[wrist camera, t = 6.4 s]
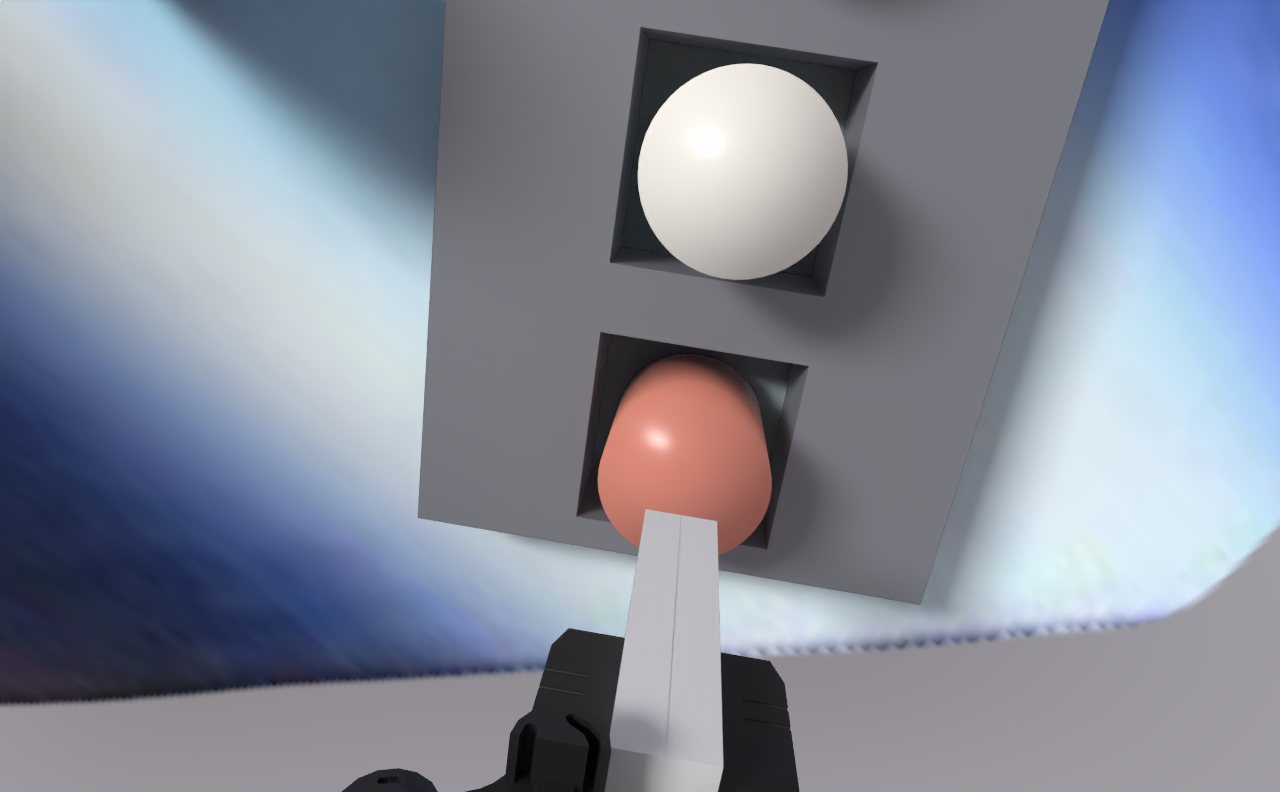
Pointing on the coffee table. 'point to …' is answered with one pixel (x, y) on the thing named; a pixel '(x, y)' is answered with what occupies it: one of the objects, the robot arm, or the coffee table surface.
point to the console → (752, 308)
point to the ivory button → (742, 171)
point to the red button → (687, 450)
